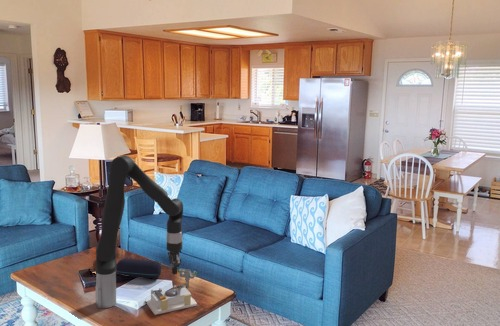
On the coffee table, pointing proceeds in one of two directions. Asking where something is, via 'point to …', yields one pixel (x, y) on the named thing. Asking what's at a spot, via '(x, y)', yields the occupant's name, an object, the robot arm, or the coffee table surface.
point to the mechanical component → (187, 275)
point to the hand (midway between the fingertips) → (174, 273)
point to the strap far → (183, 284)
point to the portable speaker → (139, 268)
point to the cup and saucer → (93, 265)
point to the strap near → (159, 295)
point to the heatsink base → (170, 308)
